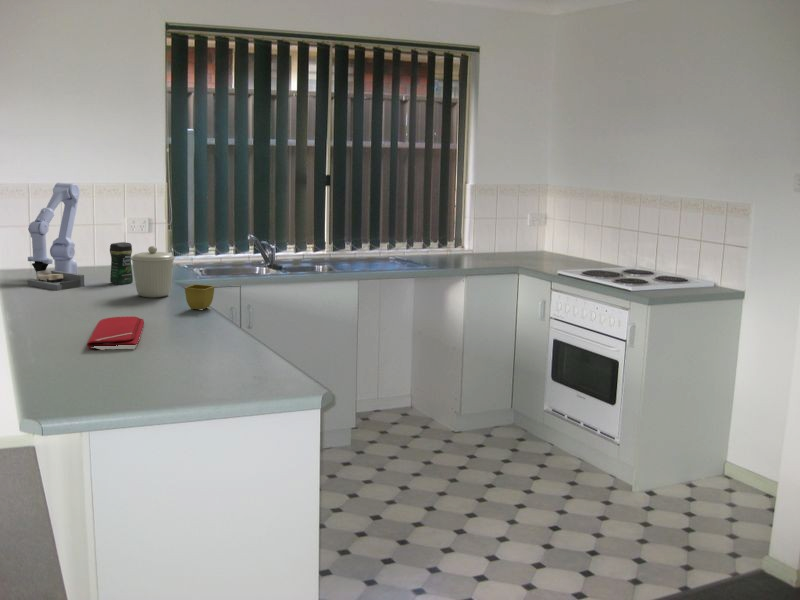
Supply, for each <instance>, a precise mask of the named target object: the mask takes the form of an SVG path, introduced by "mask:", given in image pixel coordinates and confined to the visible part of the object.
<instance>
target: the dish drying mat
mask: <svg viewBox="0 0 800 600" xmlns="http://www.w3.org/2000/svg"><path fill="white" fill-rule="evenodd" d="M144 323H145V320H144V319H143V318H140V317H137V316H115V317H107V318H102V319H101V320H99V321H98V322H97V324H96V326H95V328H94V330H93V332H92V334H91V336H90V338H89V339H88V341H87V343H86V345H87V347H88V348H90V347H94V346H116V345H117V346H118V345H136V344H137V342H138V340H139V337H140V334H141V335H142V333H141V331H142V332H143V330H142V328H143V329H144V326H143V325H144ZM140 338H141V337H140ZM139 341H140V340H139Z"/></svg>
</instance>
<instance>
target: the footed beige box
mask: <svg viewBox="0 0 800 600" xmlns="http://www.w3.org/2000/svg"><path fill="white" fill-rule="evenodd" d="M51 271H52V269H46V270H44V271H37V272H36V271H35V274H36V280H37V281H43V282H45V281H46V282H49V283H51V282H52V281H53V280H54V279H57V281H59V282H60V281H62V278H63V274H51Z"/></svg>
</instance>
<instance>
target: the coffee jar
mask: <svg viewBox="0 0 800 600" xmlns="http://www.w3.org/2000/svg"><path fill="white" fill-rule="evenodd" d="M132 247H133V246H132V243H130V242H125V241H123V242H114V243H110V245H109V253H110V259H111V260H110V263H111V264H110V277H109V278H110V279H109V282H110V283H111V284H112V285H126V284H132V283H133V282H134V278H133V275H134V274H133V265H132V260H131V259H130V257H132V254H133V248H132Z"/></svg>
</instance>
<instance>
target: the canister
mask: <svg viewBox="0 0 800 600" xmlns="http://www.w3.org/2000/svg"><path fill="white" fill-rule="evenodd" d="M130 259H131V264H132V271H133V275H134V282H135V289H136V292H137V294H138V295H139V296H140V297H142V298H150V299H151V298H153V299H154V298H163V297H166V296H168V295H170V293H171V290H172V281H173V280H172V279H173V272H174V271H173V269H174V260H175V259H176V256H174V255H173V254H171V253H168V252H163V251H162V252H161V251H158V248H157V247H156V246H154V245H151V246H148V251H145V252H138V253H135V254H133V255H131V257H130Z"/></svg>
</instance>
